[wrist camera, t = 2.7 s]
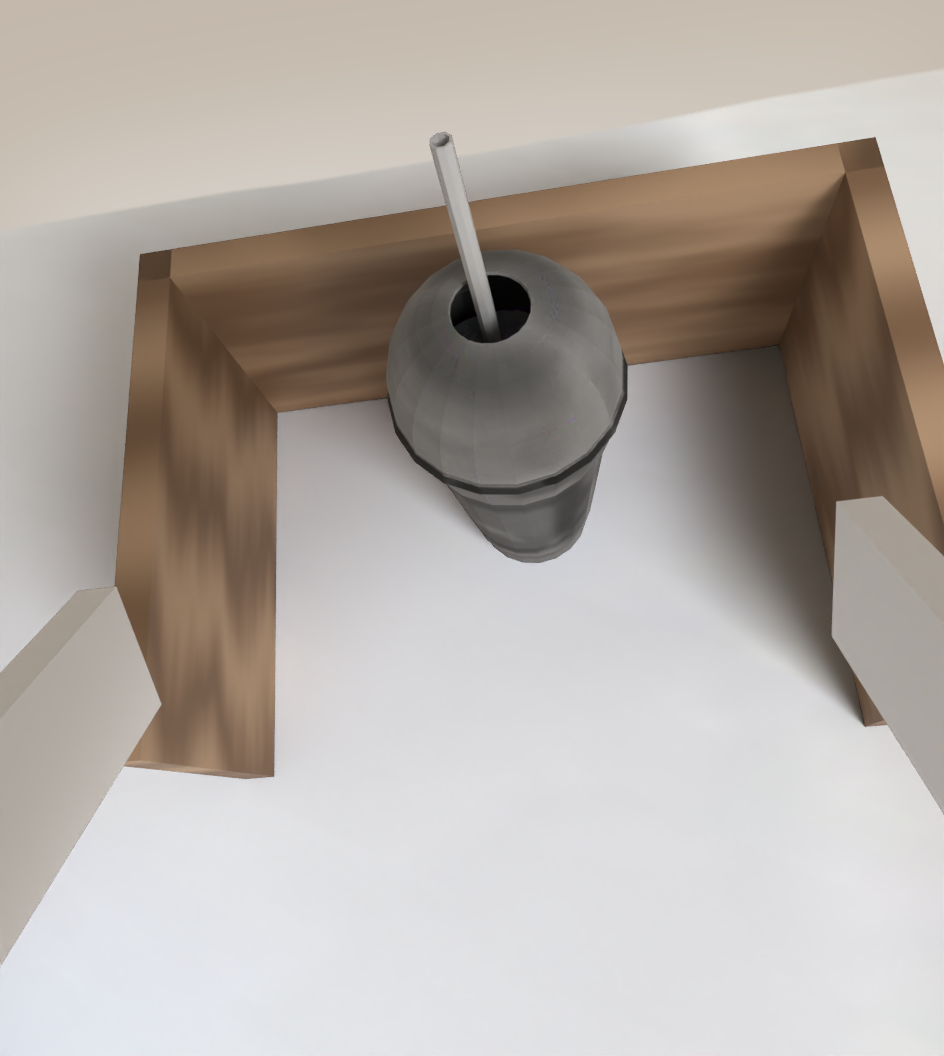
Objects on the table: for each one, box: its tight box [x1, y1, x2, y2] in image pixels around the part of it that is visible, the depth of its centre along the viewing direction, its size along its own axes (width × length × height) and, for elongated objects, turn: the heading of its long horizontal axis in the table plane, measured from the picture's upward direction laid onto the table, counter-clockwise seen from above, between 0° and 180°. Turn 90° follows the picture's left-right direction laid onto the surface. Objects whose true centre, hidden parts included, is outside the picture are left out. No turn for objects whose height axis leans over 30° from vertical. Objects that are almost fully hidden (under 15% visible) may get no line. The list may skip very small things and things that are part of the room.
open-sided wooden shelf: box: [115, 137, 944, 779], centre depth 30 cm, size 18×25×10 cm
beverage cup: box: [386, 132, 627, 563], centre depth 26 cm, size 7×7×20 cm
